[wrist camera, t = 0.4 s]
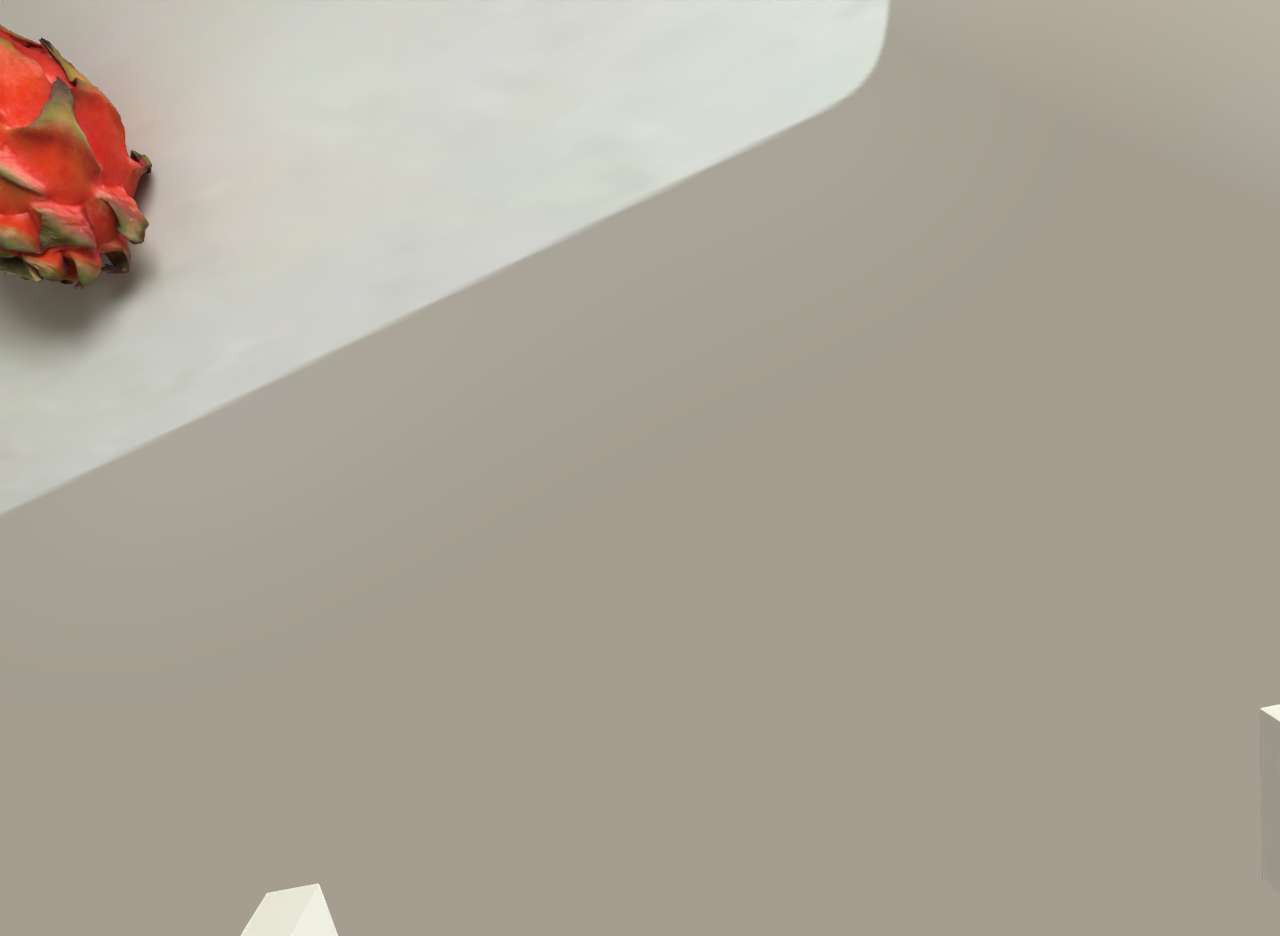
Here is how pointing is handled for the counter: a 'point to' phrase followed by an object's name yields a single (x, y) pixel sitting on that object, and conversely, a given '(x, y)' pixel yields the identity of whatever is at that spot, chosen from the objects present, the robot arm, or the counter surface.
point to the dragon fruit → (62, 170)
